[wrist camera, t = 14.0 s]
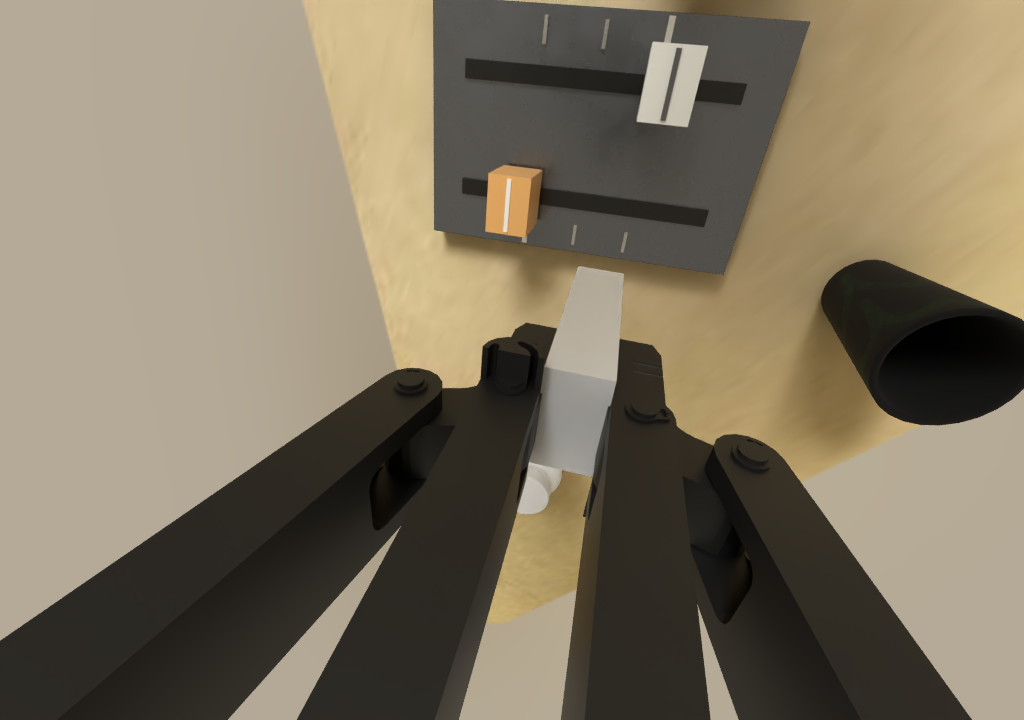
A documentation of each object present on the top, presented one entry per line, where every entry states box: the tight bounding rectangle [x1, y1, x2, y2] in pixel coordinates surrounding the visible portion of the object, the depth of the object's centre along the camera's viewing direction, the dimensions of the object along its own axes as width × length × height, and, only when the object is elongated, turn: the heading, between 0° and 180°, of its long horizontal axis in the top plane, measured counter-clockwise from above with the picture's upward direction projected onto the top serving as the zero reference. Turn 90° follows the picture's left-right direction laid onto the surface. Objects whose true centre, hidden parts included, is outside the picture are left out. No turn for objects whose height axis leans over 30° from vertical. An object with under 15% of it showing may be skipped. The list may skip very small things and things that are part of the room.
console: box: [433, 0, 810, 275], centre depth 34 cm, size 16×24×2 cm, turn 85°
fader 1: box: [485, 165, 543, 238], centre depth 34 cm, size 4×3×4 cm
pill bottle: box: [517, 457, 563, 514], centre depth 44 cm, size 6×6×11 cm
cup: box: [821, 260, 1024, 425], centre depth 31 cm, size 8×8×12 cm
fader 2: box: [637, 42, 708, 127], centre depth 28 cm, size 4×3×4 cm
